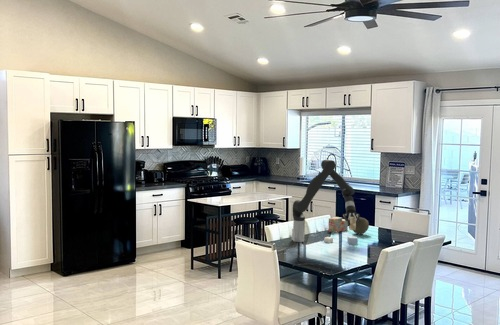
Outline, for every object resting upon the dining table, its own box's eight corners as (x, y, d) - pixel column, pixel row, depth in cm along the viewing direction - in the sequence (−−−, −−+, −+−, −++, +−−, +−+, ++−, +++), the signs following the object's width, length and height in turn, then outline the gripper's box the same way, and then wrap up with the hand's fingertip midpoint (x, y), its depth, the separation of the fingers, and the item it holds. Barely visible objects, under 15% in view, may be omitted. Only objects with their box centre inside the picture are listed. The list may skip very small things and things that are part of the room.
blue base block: (348, 244, 383) (348, 238, 383) (347, 242, 390) (347, 236, 390) (357, 244, 382) (357, 238, 382) (356, 242, 389) (356, 236, 389)
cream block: (324, 241, 389) (324, 237, 389) (328, 241, 392) (328, 236, 392) (328, 242, 385) (328, 238, 385) (332, 242, 388) (333, 238, 388)
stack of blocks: (342, 228, 446) (342, 215, 445) (347, 229, 442) (348, 216, 441) (328, 231, 431) (328, 218, 431) (333, 232, 427) (334, 219, 426)
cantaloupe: (360, 236, 413) (361, 219, 412) (348, 233, 424) (349, 216, 423) (371, 235, 420) (372, 218, 419) (359, 232, 432) (360, 215, 431)
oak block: (350, 229, 383) (350, 217, 383) (348, 228, 388) (349, 216, 387) (355, 230, 383) (356, 217, 383) (354, 228, 388) (354, 216, 387)
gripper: (342, 204, 392) (344, 222, 381) (359, 205, 392) (362, 222, 381) (341, 210, 398) (343, 227, 386) (358, 210, 398) (360, 227, 386)
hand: (352, 224), depth 383 cm, fingers closed on oak block, 4 cm apart
